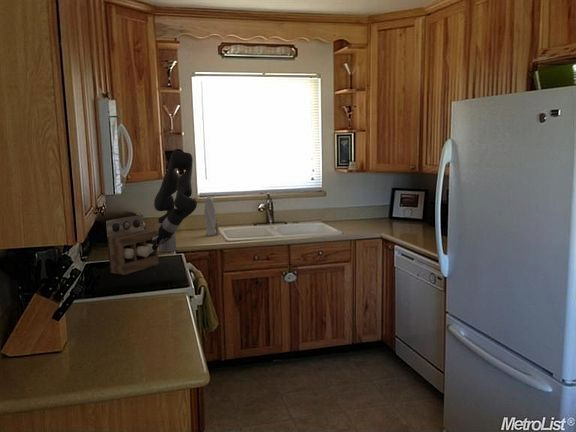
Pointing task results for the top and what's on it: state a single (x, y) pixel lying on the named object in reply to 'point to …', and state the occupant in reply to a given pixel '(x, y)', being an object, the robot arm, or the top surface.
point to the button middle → (142, 251)
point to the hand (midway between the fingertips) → (153, 248)
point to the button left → (128, 253)
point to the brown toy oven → (129, 244)
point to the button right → (150, 247)
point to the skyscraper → (210, 217)
